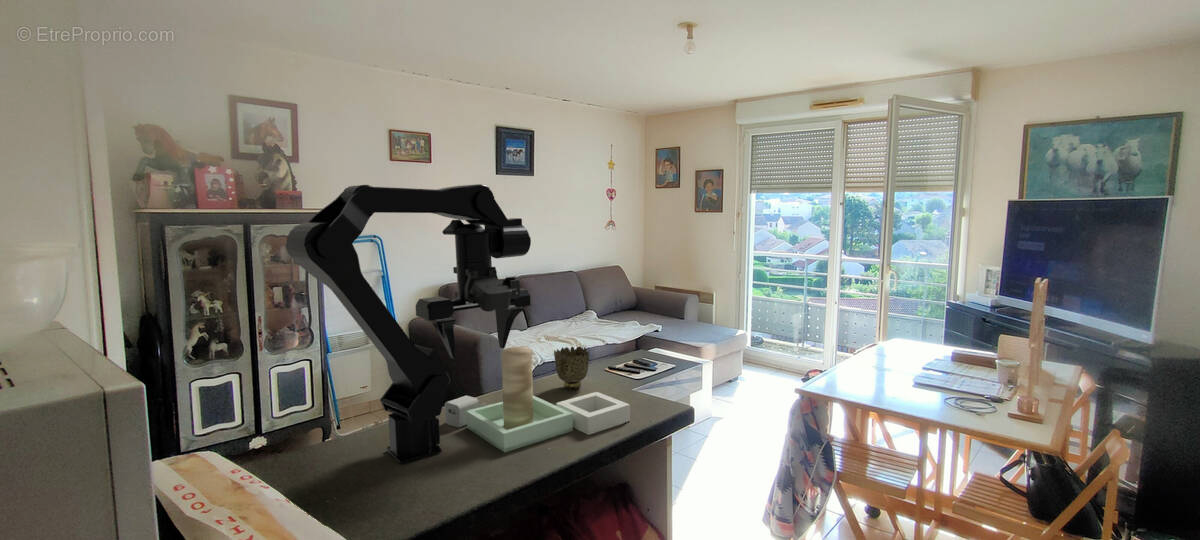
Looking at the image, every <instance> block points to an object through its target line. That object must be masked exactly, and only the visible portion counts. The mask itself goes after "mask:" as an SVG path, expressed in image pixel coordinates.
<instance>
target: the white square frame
mask: <svg viewBox="0 0 1200 540" xmlns="http://www.w3.org/2000/svg"><path fill="white" fill-rule="evenodd" d="M555 406H557V407H560V408H562V409H564V410H566V411H568V412H570V413H573V429H575V430H578V431H579V432H582V433H584V434H586V435H588V436H589V435H592V434H593V435H594V434H595V433H599V432H601V431H605V430H608V429H611V428H613V427H617V426H619V425H622V424H625V422H626V423H629V422H630V421H631V413H630V412H631V408H630V407H631V405H630V403H626V402H625V401H621V400H619V399H616V398H614V397H611V396H609V395H606V394H604V393H601V392H598V391H595V392H594V391H593V392H590V393H587V394H584V395H580V396H577V397H573V398H569V399H565V400H562V401H558V402H556V405H555ZM628 421H629V422H628Z"/></svg>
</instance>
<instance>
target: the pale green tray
mask: <svg viewBox="0 0 1200 540" xmlns="http://www.w3.org/2000/svg"><path fill="white" fill-rule="evenodd" d="M466 420H467V425H466V429H468V430H470V431H471V432H472V433H474V434H476V435H477V436H479V437H480V438H482V439H483V440H484V441H486V442H487V443H489V444H491V445H492V446H494V447H495V448H496V449H498V450H500V451H501V452H502V453H508V452H511V451H514V450H517V449H518V450H519V449H520V448H523V447H527V446H530V445H533V444H536V443H539V442H543V441H546V440H549V439H552V438H554V437H557V436H561V435H564V434H568V433H571V432H574V428H573V413H570V412H568V411H566V410H564V409H562V408H560V407H557V406H556V405H555V404H552V403H550V402H548V401H546V400H545V399H542V398H540V397H537V396H535V395H533V423H530V424H526V425H523V426H519V427H516V428H512V429H509V430H506V429H505V428H504V418H503V401H500V402H496V403H492V404H488V405H487V406H486V405H484V407H480V408H476V409H472V410H468V411H466Z"/></svg>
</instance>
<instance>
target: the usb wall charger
mask: <svg viewBox="0 0 1200 540" xmlns="http://www.w3.org/2000/svg"><path fill="white" fill-rule="evenodd" d="M484 406H487V402H485V403H481V404H480V400H479V398H476V397H474V396H470V395H464V396H460V397H458V398H455V399H452V400H448V401H446V402H445V403H444V417H445V418H444V419H445V420H444V421H445V423H446V424H447V425H450V426H452V427H456V428H458V429H459V428H461V427H464V426H467V420H466V411H468V410H472V409H476V408H480V407H484Z"/></svg>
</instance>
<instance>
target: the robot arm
mask: <svg viewBox="0 0 1200 540" xmlns="http://www.w3.org/2000/svg"><path fill="white" fill-rule="evenodd" d="M374 213H378V214H379V213H381V214H382V213H383V214H385V213H388V214H390V213H394V214H396V213H397V214H406V213H407V214H433V215H434V214H435V215H438V216H442V217H444V218H449V219H452V220H451V221H450V223H449V224H448V225H447V226H446V227H445V228H444V229H443V230H442V234H443V235H448V236H449V235H450V236H454V241H455V242H454V243H455V261H456V266H453V267H452V268H453V270H452V271H453V274H456V279H457V282H456V284H457V290H454V298H456V299H450V298H447V297H443V296H432V297H431V296H430V297H424V298H419V299H418V301H417V302H416V304H415V316H416V317H419V318H420V319H421V318H422V319H424V321H425V322H428V323H431V324H432V326H433V327H434V328H435V330H436V331H437V333H438V335H439V338H440V340H441V341H442V342H443V345H444V347H445V349H446V351H447V353H448V355H449V357H450V358H451V359H455V358H456V349H457V348H456V341H455V333H454V332H455V331H454V327H455V324H456V319H455V318H452V315H453V314H454V313H455V312H458V311H463V310H472V309H478V308H480V309H481V310H482V311H483V312H493V311H495V322H496V323H495V324H496V331H497V332H496V333H497V339H498V340H497V341H498V345H499V347H500V349H506V346H507V345H506V344H507V342H508V338H509V336H510V332H511V329H512V326H513V324H514V321H515V319H516V317H517V316H518V315H520V313H522V312H525V310H526V308H525V307H530V306H532V295H531V292H530V291H529V290H528V289H526V288H522V287H521V283H520V282H521V280H520V278H518V277H517V276H506V277H505V278H503V279H502V278H501V279H499V278H498V274H497V273H498V271H497V269H496V266H492V262H493V261H492V258H493V259H506V258H515V257H522V256H525V255H527V254H528V252H529V250H530V248H531V244H532V240H531V239H532V238H531V236H530V233H529V231H528V229H527V228H526V226H524V225H523V219H522V218H519V217H518V218H517V217H516V218H508V217H507V216H506V215H505V213H504V211H503V210H502V208H501V206H500V205H499V204H498V202H497V201H496V199H495V196H494V193H493V191H492V189H490V186H489V185H485V184H482V183H481V184H479V183H478V184H463V185H455V186H449V187H448V186H447V187H443V188H438V189H433V188H429V189H428V188H410V187H409V188H407V187H406V188H405V187H404V188H403V187H386V186H385V187H382V186H372V185H370V184H361V185H359V184H358V185H350V186H348V187H345V188H344V190H343V191H342V192H341V193H340V194H339V195H338V196H336V198H335V199H334V200H333V201H331V202H330V203H328V204H327V205H326V206H325V207H323V208H322V209H321V210H319V211H318V212H317V213H315V214H314V215H313V216H312V217H311V218H310V219H309V220H308V221H307V222H302V223H299V224H298V225H295V226H294V227H293V228H292V229H291V230H290V231H289V233H288V235H287V236H286V237H287V238H286V242H285V249H286V252H287V254H288V255H289V257H290V258H291V259H292V260H293V261H294V262H296V264H297V265H299V266H300V267H301V268H302V269H303V270H304V271H305V272H307V273H308V274H309V275H311V276H312V277H313V278H315V279H316V280H317V281H319V282H320V283H322V284H324V285H325V286H326V287H327V288H329V289H330V290H331V291H332V292H333V294H334V295H335V297H336V298H337V299H338V300H339V302H340V303H341V304H342V305H343V307H344V308H345V309H346V310H347V312H348V314H349V315H351V317H352V319H354V321H355V323H356V324H357V325H358V326H359V327H360V329H361V330H362V331H363V333H364V334H365V335H366V336H367V338H368V339H369V341H371V343H372V344H373V345H374V347H375V348H376V349H377V350H378V352H379V353H380V355H382V357H383V358H384V359H385V362H386V367H387V371H388V375H389V378H390V380H391V382H392V383H391V384H390V386H389V387H388V389H387V390H386V391H385V393H384V394H383V395H382V397H380V400H379V401H380V403H381V406H382V409H383V410H384V411H385V412H388V413H390V414H388V417H387V418H388V431H389V433H388V434H389V446H387V447H386V452H387V453H388V454H390V456H391V457H393V458H394V459H395V461H397V462H398V464H405V463H408V462H412V461H415V460H419V459H421V458H425V457H429V456H432V455H436V454H439V453H441V452H442V450H443V449H442V447H441V446H440V444H441V436H440V435H441V434H440V419H439V418H438V417H439V416H440V415H441V414H442V410H443V407H444V406H443V405H444V402H445V397H446V395H447V392H448V390H449V387H450V386H449V385H450V383H451V378H450V376H449V374H448V372H447V371H449V370H450V367H449V366H446V365H445V364H444V363H443V361H442V360H441V358H440V355H439V354H438V353H437V350H435V349H433V348H428V347H423V346H420V345H417V344H414V343H413V341H412V340H411V339H410V338H409V336H408V335H407V334H406V333H405V331H404V330H403V328H402V327H401V325H400V324H399V323H398V321H397V320H396V319H395V317H394V316H393V315H392V314H391V312H390V311H389V308H387V306H386V305H385V304H384V303H383V301H382V299H380V297H379V295H378V294H377V292H376V291H375V290H374V289H373V287H372V286H371V285H370V283H369V282H368V280H367V279H366V278H365V276H364V275H363V273H362V269H361V265H360V259H359V255H358V252H357V250H356V248H355V246H354V244H353V243H354V242H355V241H356V240H357V239H358V237H359V236H360V235H361V234H362V233H363V231H364V230H365V228H366V225H367V224H368V221H369V220H370V218H371V217H372V216H373V215H374ZM463 221H466V222H467V223H464V222H463ZM482 226H483V227H484V228H483V227H482Z"/></svg>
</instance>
